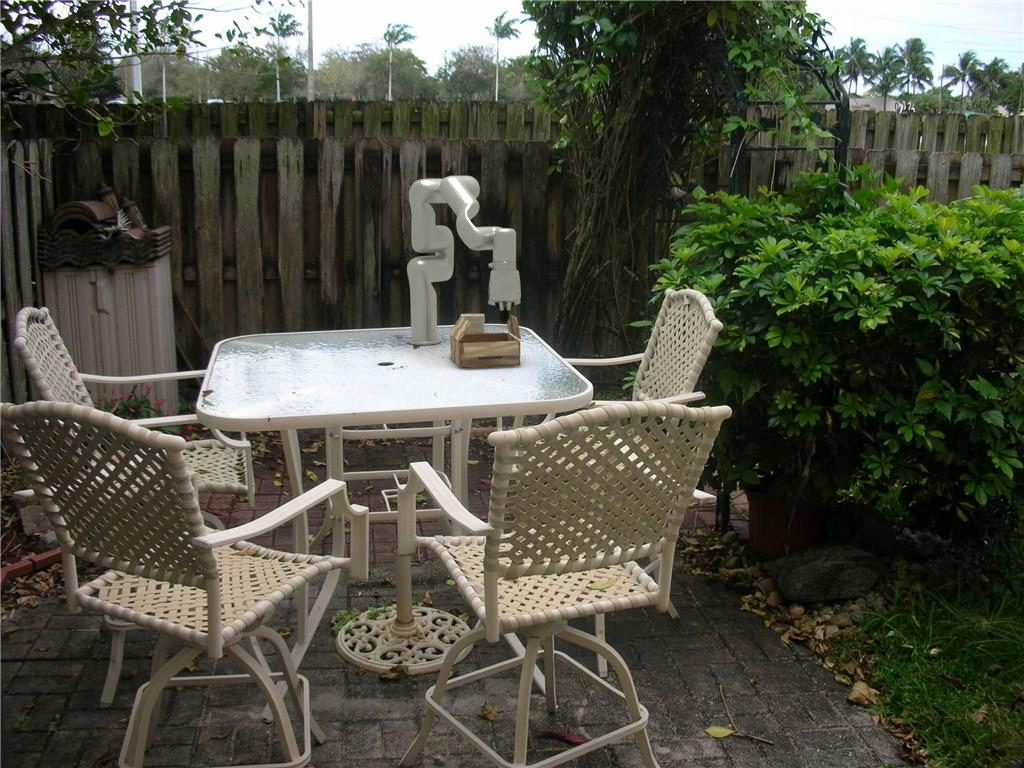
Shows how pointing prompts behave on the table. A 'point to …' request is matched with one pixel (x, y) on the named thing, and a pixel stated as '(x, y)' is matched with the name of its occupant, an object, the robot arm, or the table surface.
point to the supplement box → (475, 323)
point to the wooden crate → (461, 361)
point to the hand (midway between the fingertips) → (504, 321)
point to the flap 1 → (460, 328)
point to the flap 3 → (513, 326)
